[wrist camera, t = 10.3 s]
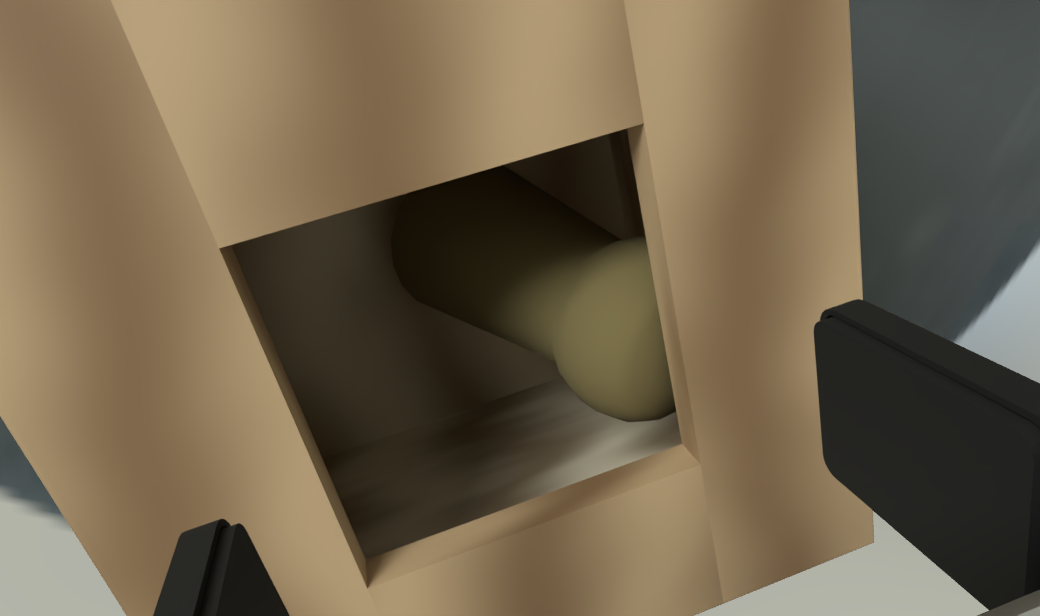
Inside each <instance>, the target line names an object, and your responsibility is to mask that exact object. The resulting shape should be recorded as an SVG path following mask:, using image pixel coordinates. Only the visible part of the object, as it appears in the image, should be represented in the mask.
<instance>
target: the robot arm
mask: <svg viewBox="0 0 1040 616" xmlns="http://www.w3.org/2000/svg"><path fill="white" fill-rule="evenodd" d="M814 344H815V358H816V371H817V384H818V397H819V410H820V423H821V437H822V450H823V458H824V461H825V464H826V466H827V468H828V470H829V471H830V473H831V474H832V475H833V476H834V477H835V478H836V479H837V480H838V481H839V482H840V483H842V484H843V485H844V486H845V487H846V488H847V489H849V490H850V491H851V492H852V493H853V494H854V495H856V496H857V497H858V498H859V499H860V500H861V501H863V502H864V503H865V504H866V505H867V506H868V507H870V508H871V509H872V510H873V511H874V512H875V513H877V514H878V515H879V516H880V517H881V518H882V519H884V520H885V521H886V522H887V523H888V524H889V525H891V526H892V527H893V528H894V529H895V530H896V531H897V532H899V533H900V534H901V535H902V536H903V537H904V538H906V539H907V540H908V541H909V542H910V543H912V544H913V545H914V546H915V547H916V548H918V550H920V551H921V552H922V553H923V554H924V555H925V556H927V557H928V558H929V559H930V560H931V561H932V562H934V563H935V564H936V565H937V566H938V567H939V568H941V569H942V570H943V571H944V572H945V573H946V574H948V575H949V576H950V577H951V578H952V579H953V580H955V581H956V582H957V583H958V584H959V585H960V586H962V587H963V588H964V589H965V590H966V591H967V592H969V593H970V594H971V595H972V596H973V597H974V598H975V599H977V600H978V601H979V602H980V603H982V604H983V605H984V606H985V607H986V608H987V609H988V610H989V611H987V612H985V613H982V614H980V615H978V616H1040V383H1038V382H1035V381H1033V380H1031V379H1029V378H1027V377H1025V376H1022V375H1021V374H1019V373H1016V372H1014V371H1012V370H1010V369H1008V368H1006V367H1004V366H1002V365H999V364H997V363H995V362H993V361H991V360H989V359H987V358H984V357H982V356H980V355H978V354H976V353H974V352H972V351H970V350H968V349H966V348H964V347H961V346H959V345H957V344H955V343H953V342H951V341H949V340H947V339H944V338H942V337H940V336H938V335H936V334H934V333H932V332H930V331H928V330H925V329H923V328H921V327H919V326H917V325H915V324H913V323H911V322H909V321H906V320H904V319H902V318H900V317H898V316H896V315H894V314H892V313H889V312H887V311H885V310H883V309H881V308H879V307H877V306H875V305H873V304H870V303H868V302H866V301H864V300H860V299H856V300H852V301H849V302H846V303H843V304H841V305H838V306H835V307H832V308H829V309H826V310H824V311H823V312H822V314H821V317H820V321H818V322H817V323H816V324H815V326H814ZM153 616H290V615H289V613H288V611H287V609H286V607H285V605H284V603H283V601H282V599H281V597H280V595H279V593H278V591H277V590H276V588H275V586H274V584H273V582H272V580H271V578H270V576H269V574H268V572H267V570H266V568H265V566H264V564H263V562H262V560H261V558H260V556H259V554H258V552H257V550H256V548H255V546H254V544H253V542H252V540H251V538H250V536H249V534H248V532H247V531H246V529H245V527H244V526H243V525H242V524H240V523H238V524H235V525H232V526H231V525H230V524H229V522H228V521H226V520H225V519H219V520H216V521H213V522H210V523H207V524H205V525H202V526H199V527H196V528H193V529H190V530H187V531H185V532H183V533H181V535H180V537H179V539H178V542H177V545H176V548H175V551H174V554H173V557H172V560H171V563H170V566H169V569H168V572H167V575H166V578H165V581H164V584H163V587H162V590H161V593H160V596H159V599H158V602H157V605H156V608H155V611H154V614H153Z"/></svg>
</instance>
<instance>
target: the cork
mask: <svg viewBox="0 0 1040 616" xmlns="http://www.w3.org/2000/svg"><path fill="white" fill-rule="evenodd" d="M391 247H392V260H393V266H394V268H395V271H396V273H397V275H398V278H399V280H400V282H401V285H402V286H403V287H404V288H405V289H406V290H407V291H408V292H409V294H410V295H411V296H412V297H413V298H414V299H415V300H416V301H418V302H420V303H423V304H425V305H427V306H430V307H432V308H434V309H436V310H439V311H441V312H443V313H446V314H448V315H450V316H452V317H455V318H457V319H459V320H461V321H464V322H466V323H468V324H471V325H473V326H475V327H477V328H480V329H482V330H484V331H487V332H489V333H491V334H493V335H496V336H498V337H500V338H502V339H505V340H507V341H509V342H512V343H514V344H516V345H518V346H521V347H523V348H525V349H527V350H530V351H532V352H534V353H537V354H539V355H541V356H543V357H546V358H548V359H550V360H553V361H555V362H556V363H557V367H558V370H559V374H560V375H561V376H562V377H563V379H564V380H565V381H566V382H567V384H568V385H569V386H570V388H571V389H572V390H573V391H574V392H575V394H576V395H577V396H578V397H579V398H580V400H581V401H582V402H584V403H585V404H587V405H588V406H589V407H591V408H592V409H594V410H595V411H597V412H600V413H602V414H605V415H608V416H610V417H613V418H616V419H619V420H622V421H625V422H642V421H652V420H660V419H662V418H664V417H666V416H668V415H670V414H672V413H674V412H676V406H675V400H674V395H673V389H672V383H671V378H670V372H669V366H668V361H667V355H666V349H665V343H664V338H663V332H662V326H661V321H660V315H659V309H658V304H657V298H656V292H655V287H654V281H653V275H652V269H651V264H650V258H649V252H648V247H647V241H646V237H641V236H634V237H630V238H627V239H623V240H621V239H620V238H618V237H616V236H615V235H613V234H612V233H610V232H608V231H607V230H605V229H604V228H602V227H600V226H599V225H597V224H596V223H594V222H593V221H591V220H589V219H588V218H586V217H585V216H583V215H581V214H580V213H578V212H577V211H575V210H573V209H572V208H570V207H569V206H567V205H566V204H564V203H562V202H561V201H559V200H558V199H556V198H554V197H553V196H551V195H550V194H548V193H546V192H545V191H543V190H542V189H540V188H538V187H537V186H535V185H534V184H532V183H531V182H529V181H527V180H526V179H524V178H523V177H521V176H519V175H518V174H516V173H515V172H513V171H511V170H510V169H508V168H507V167H505V166H503V165H501V166H497V167H494V168H491V169H487V170H484V171H480V172H477V173H474V174H470V175H467V176H463V177H460V178H457V179H453V180H450V181H446V182H443V183H440V184H436V185H433V186H429V187H426V188H423V189H419V190H416V191H412V192H409V193H407V195H406V197H405V199H404V201H403V203H402V204H401V206H400V208H399V210H398V212H397V214H396V219H395V223H394V228H393V232H392V237H391Z"/></svg>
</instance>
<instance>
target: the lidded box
mask: <svg viewBox="0 0 1040 616" xmlns="http://www.w3.org/2000/svg"><path fill="white" fill-rule="evenodd" d="M501 165H503V166H505V167H507V168H508V169H510V170H511V171H513V172H515V173H516V174H518V175H519V176H521V177H523V178H524V179H526V180H527V181H529V182H531V183H532V184H534V185H535V186H537V187H538V188H540V189H542V190H543V191H545V192H546V193H548V194H550V195H551V196H553V197H554V198H556V199H558V200H559V201H561V202H562V203H564V204H566V205H567V206H569V207H570V208H572V209H573V210H575V211H577V212H578V213H580V214H581V215H583V216H585V217H586V218H588V219H589V220H591V221H593V222H594V223H596V224H597V225H599V226H600V227H602V228H604V229H605V230H607V231H608V232H610V233H612V234H613V235H615V236H616V237H618V238H620V239H621V240H623V239H627V238H630V237H634V236H641V237H646V241H647V247H648V252H649V258H650V264H651V269H652V275H653V281H654V287H655V292H656V298H657V304H658V309H659V315H660V321H661V326H662V332H663V338H664V343H665V349H666V355H667V361H668V366H669V372H670V378H671V383H672V389H673V395H674V400H675V406H676V412H674V413H672V414H670V415H668V416H666V417H664V418H662V419H660V420H652V421H642V422H625V421H622V420H619V419H616V418H613V417H610V416H608V415H605V414H602V413H600V412H597V411H595V410H594V409H592V408H591V407H589V406H588V405H587V404H585V403H584V402H582V401H581V400H580V398H579V397H578V396H577V395H576V394H575V392H574V391H573V390H572V389H571V388H570V386H569V385H568V384H567V382H566V381H565V380H564V379H563V377H562V376H561V375H560V374H559V370H558V367H557V363H556V362H555V361H553V360H550V359H548V358H546V357H543V356H541V355H539V354H537V353H534V352H532V351H530V350H527V349H525V348H523V347H521V346H518V345H516V344H514V343H512V342H509V341H507V340H505V339H502V338H500V337H498V336H496V335H493V334H491V333H489V332H487V331H484V330H482V329H480V328H477V327H475V326H473V325H471V324H468V323H466V322H464V321H461V320H459V319H457V318H455V317H452V316H450V315H448V314H446V313H443V312H441V311H439V310H436V309H434V308H432V307H430V306H427V305H425V304H423V303H420V302H418V301H416V300H415V299H414V298H413V297H412V296H411V295H410V294H409V292H408V291H407V290H406V289H405V288H404V287H403V286H402V285H401V282H400V280H399V278H398V275H397V273H396V271H395V268H394V266H393V260H392V247H391V237H392V232H393V228H394V223H395V219H396V214H397V212H398V210H399V208H400V206H401V204H402V203H403V201H404V199H405V197H406V195H407V193H409V192H412V191H416V190H419V189H423V188H426V187H429V186H433V185H436V184H440V183H443V182H446V181H450V180H453V179H457V178H460V177H463V176H467V175H470V174H474V173H477V172H480V171H484V170H487V169H491V168H494V167H497V166H501ZM856 299H860V300H863V293H862V272H861V250H860V229H859V207H858V186H857V164H856V143H855V121H854V100H853V78H852V57H851V35H850V14H849V0H0V416H1V418H2V419H3V421H4V423H5V424H6V426H7V427H8V429H9V430H10V432H11V434H12V435H13V437H14V438H15V440H16V442H17V443H18V445H19V446H20V448H21V449H22V451H23V453H24V454H25V456H26V457H27V459H28V460H29V462H30V464H31V465H32V467H33V468H34V470H35V472H36V473H37V475H38V476H39V478H40V479H41V481H42V483H43V484H44V486H45V487H46V489H47V490H48V492H49V494H50V495H51V497H52V498H53V500H54V502H55V503H56V505H57V506H58V508H59V509H60V511H61V513H62V514H63V516H64V517H65V519H66V520H67V522H68V524H69V525H70V527H71V528H72V530H73V532H74V533H75V535H76V536H77V538H78V539H79V541H80V543H81V544H82V546H83V547H84V549H85V550H86V552H87V554H88V555H89V557H90V558H91V560H92V562H93V563H94V565H95V566H96V568H97V569H98V571H99V573H100V574H101V576H102V577H103V579H104V580H105V582H106V583H107V585H108V587H109V588H110V590H111V591H112V593H113V595H114V596H115V598H116V599H117V601H118V602H119V604H120V606H121V607H122V609H123V610H124V612H125V614H126V615H127V616H153V614H154V611H155V608H156V605H157V602H158V599H159V596H160V593H161V590H162V587H163V584H164V581H165V578H166V575H167V572H168V569H169V566H170V563H171V560H172V557H173V554H174V551H175V548H176V545H177V542H178V539H179V537H180V535H181V533H183V532H185V531H187V530H190V529H193V528H196V527H199V526H202V525H205V524H207V523H210V522H213V521H216V520H219V519H225V520H226V521H228V522H229V524H230V525H231V526H232V525H235V524H238V523H240V524H242V525H243V526H244V527H245V529H246V531H247V532H248V534H249V536H250V538H251V540H252V542H253V544H254V546H255V548H256V550H257V552H258V554H259V556H260V558H261V560H262V562H263V564H264V566H265V568H266V570H267V572H268V574H269V576H270V578H271V580H272V582H273V584H274V586H275V588H276V590H277V591H278V593H279V595H280V597H281V599H282V601H283V603H284V605H285V607H286V609H287V611H288V613H289V615H290V616H694V615H696V614H699V613H701V612H704V611H706V610H708V609H711V608H713V607H716V606H718V605H721V604H723V603H726V602H728V601H731V600H733V599H736V598H738V597H741V596H743V595H745V594H748V593H750V592H753V591H755V590H758V589H760V588H763V587H765V586H768V585H770V584H773V583H775V582H778V581H780V580H783V579H785V578H787V577H790V576H792V575H795V574H797V573H800V572H802V571H805V570H807V569H810V568H812V567H814V566H817V565H819V564H822V563H824V562H827V561H829V560H832V559H834V558H837V557H839V556H842V555H844V554H847V553H849V552H851V551H854V550H856V549H859V548H861V547H864V546H866V545H868V544H871V543H873V542H874V530H873V510H872V509H871V508H870V507H868V506H867V505H866V504H865V503H864V502H863V501H861V500H860V499H859V498H858V497H857V496H856V495H854V494H853V493H852V492H851V491H850V490H849V489H847V488H846V487H845V486H844V485H843V484H842V483H840V482H839V481H838V480H837V479H836V478H835V477H834V476H833V475H832V474H831V473H830V471H829V470H828V468H827V466H826V464H825V461H824V458H823V450H822V437H821V423H820V410H819V397H818V384H817V371H816V358H815V344H814V326H815V324H816V323H817V322H818V321H820V317H821V314H822V312H823V311H824V310H826V309H829V308H832V307H835V306H838V305H841V304H843V303H846V302H849V301H852V300H856Z"/></svg>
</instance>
